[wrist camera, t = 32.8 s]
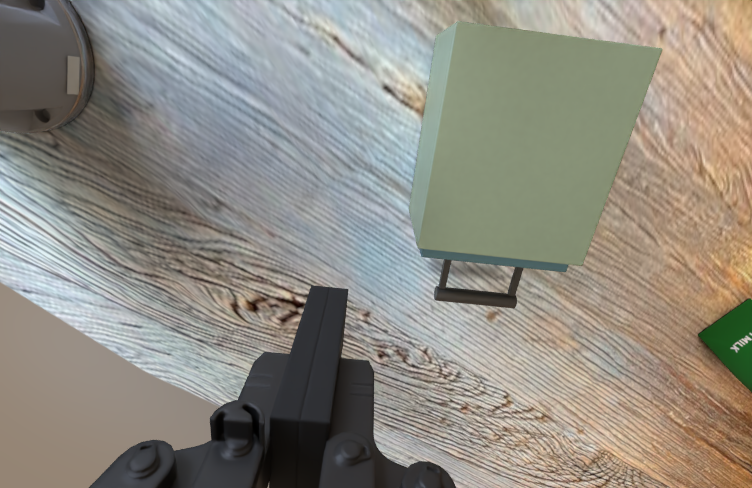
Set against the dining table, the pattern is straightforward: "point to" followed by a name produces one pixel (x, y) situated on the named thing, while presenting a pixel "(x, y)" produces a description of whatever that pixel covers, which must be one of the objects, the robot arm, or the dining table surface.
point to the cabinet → (523, 140)
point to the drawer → (483, 296)
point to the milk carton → (733, 341)
